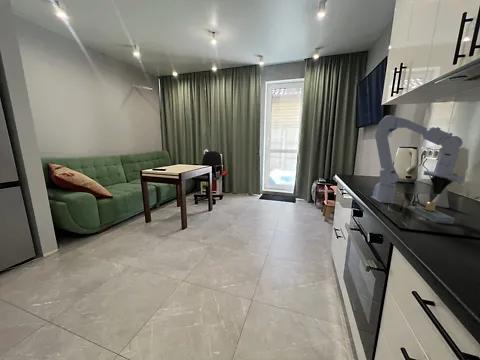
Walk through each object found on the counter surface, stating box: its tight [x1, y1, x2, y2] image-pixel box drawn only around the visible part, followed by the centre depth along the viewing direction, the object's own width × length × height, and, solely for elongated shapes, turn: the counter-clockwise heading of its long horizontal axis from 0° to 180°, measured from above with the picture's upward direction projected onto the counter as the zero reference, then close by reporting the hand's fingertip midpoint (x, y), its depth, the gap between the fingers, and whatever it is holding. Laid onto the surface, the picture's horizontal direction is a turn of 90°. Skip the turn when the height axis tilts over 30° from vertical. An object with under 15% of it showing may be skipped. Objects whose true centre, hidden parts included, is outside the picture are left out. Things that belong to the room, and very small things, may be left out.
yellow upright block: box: [424, 201, 437, 212], centre depth 89 cm, size 3×3×6 cm
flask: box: [431, 186, 450, 209], centre depth 104 cm, size 7×7×10 cm
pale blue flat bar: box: [406, 205, 456, 225], centre depth 89 cm, size 16×7×2 cm, turn 174°
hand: (436, 193), depth 90 cm, fingers closed
